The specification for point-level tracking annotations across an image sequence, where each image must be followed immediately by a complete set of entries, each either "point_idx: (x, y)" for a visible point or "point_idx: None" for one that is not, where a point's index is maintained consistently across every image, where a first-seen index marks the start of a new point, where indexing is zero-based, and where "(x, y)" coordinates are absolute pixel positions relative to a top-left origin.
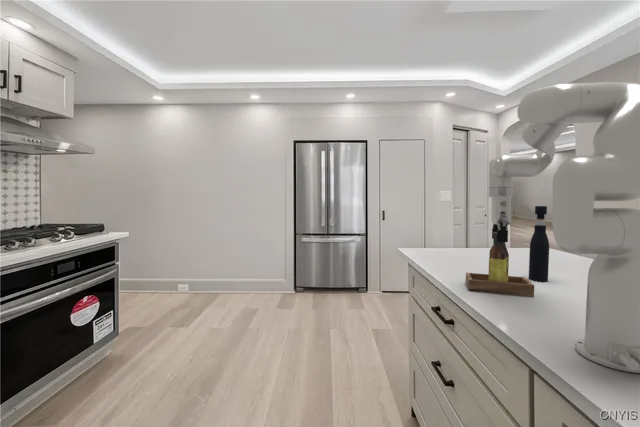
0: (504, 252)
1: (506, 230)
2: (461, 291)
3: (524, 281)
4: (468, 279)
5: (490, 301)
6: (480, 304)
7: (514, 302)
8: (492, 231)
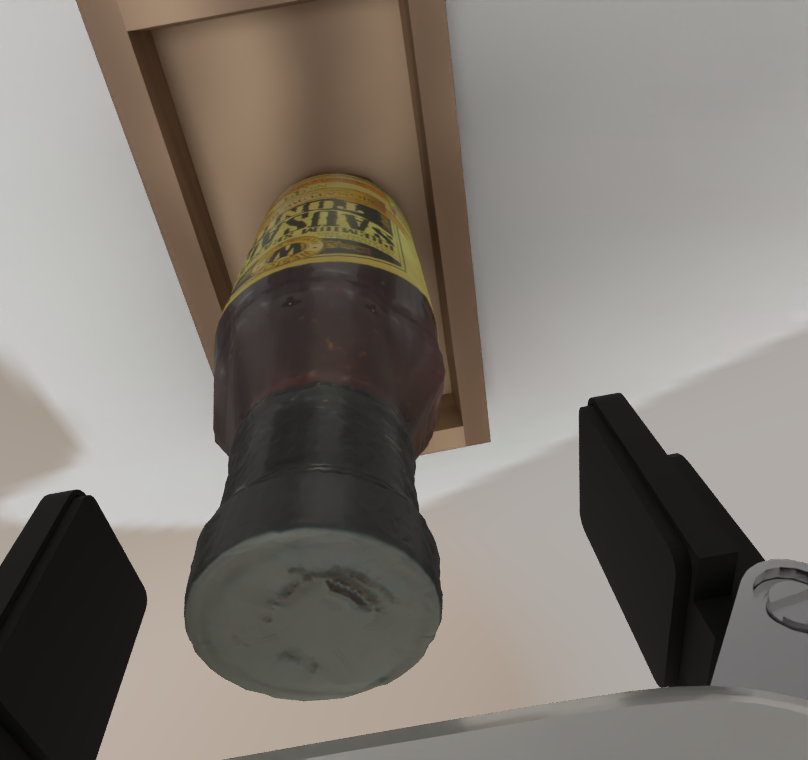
0: (402, 331)
1: (797, 581)
2: (502, 429)
3: (225, 13)
4: (460, 445)
5: (656, 266)
6: (732, 313)
7: (630, 117)
8: (99, 731)
